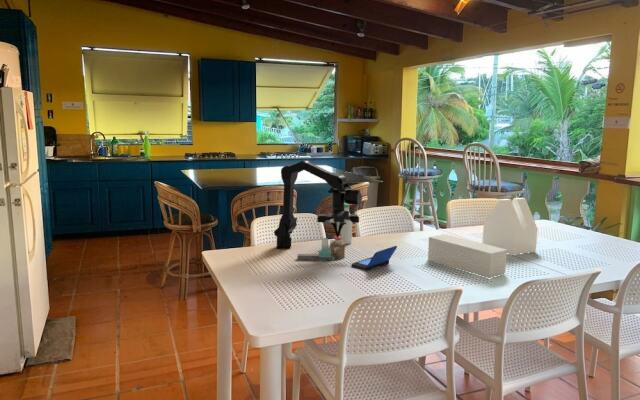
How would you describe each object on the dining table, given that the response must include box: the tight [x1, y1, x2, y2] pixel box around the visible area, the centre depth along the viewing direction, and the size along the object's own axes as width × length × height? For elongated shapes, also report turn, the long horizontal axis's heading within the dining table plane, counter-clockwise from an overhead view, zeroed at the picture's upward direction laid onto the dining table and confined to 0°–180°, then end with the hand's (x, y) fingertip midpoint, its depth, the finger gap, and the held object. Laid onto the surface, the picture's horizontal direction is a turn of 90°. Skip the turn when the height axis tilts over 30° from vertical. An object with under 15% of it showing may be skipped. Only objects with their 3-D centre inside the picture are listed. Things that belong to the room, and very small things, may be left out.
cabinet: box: [329, 239, 346, 259], centre depth 227 cm, size 6×8×6 cm
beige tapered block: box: [482, 197, 539, 256], centre depth 241 cm, size 19×15×25 cm
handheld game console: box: [351, 245, 398, 272], centre depth 211 cm, size 16×13×9 cm
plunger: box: [333, 235, 341, 243], centre depth 226 cm, size 3×3×5 cm
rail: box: [297, 253, 335, 261], centre depth 220 cm, size 16×3×2 cm, turn 92°
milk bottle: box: [336, 202, 353, 245], centre depth 249 cm, size 8×8×20 cm
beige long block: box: [427, 233, 508, 278], centre depth 212 cm, size 32×11×11 cm, turn 36°
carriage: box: [318, 237, 331, 257], centre depth 219 cm, size 5×5×8 cm
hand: (337, 236), depth 226 cm, fingers closed, pressing on plunger
